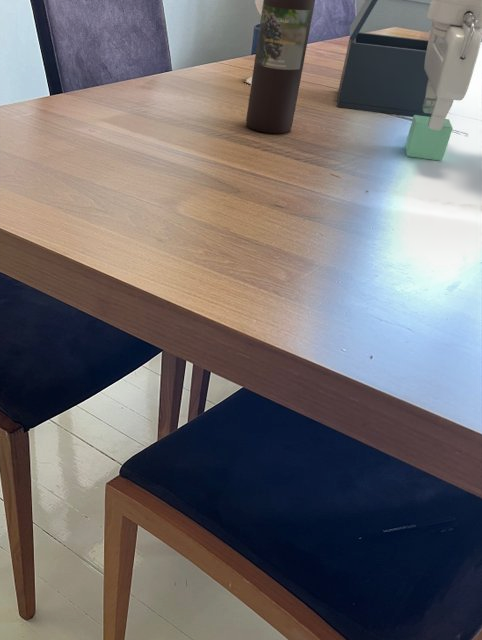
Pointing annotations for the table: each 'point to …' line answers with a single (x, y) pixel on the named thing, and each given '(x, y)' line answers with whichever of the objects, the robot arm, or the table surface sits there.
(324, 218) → the table surface
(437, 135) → the mint toy cube
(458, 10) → the robot arm
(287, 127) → the wine bottle
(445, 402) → the table surface
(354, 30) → the lid
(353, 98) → the cool box
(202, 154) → the table surface
